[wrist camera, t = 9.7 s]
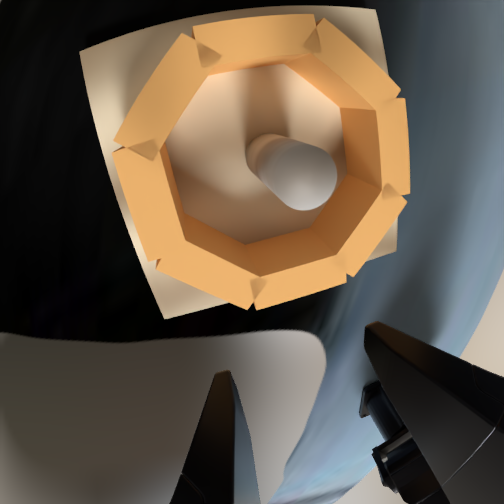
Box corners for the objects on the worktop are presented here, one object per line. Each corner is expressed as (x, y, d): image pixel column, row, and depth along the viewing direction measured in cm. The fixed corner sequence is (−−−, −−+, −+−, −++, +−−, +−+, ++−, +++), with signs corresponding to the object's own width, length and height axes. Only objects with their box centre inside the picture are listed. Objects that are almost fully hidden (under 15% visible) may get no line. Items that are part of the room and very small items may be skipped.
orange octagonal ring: (375, 236, 19) (407, 261, 16) (176, 292, 17) (177, 331, 14) (354, 30, 13) (391, 19, 10) (109, 68, 11) (89, 57, 8)
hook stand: (387, 243, 21) (443, 290, 15) (165, 307, 19) (164, 383, 14) (364, 13, 13) (435, -9, 8) (86, 55, 12) (35, 30, 6)
